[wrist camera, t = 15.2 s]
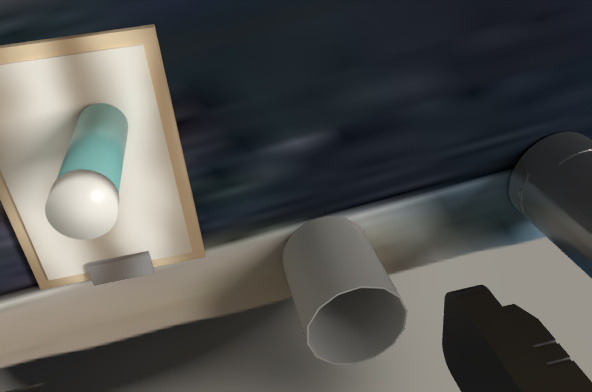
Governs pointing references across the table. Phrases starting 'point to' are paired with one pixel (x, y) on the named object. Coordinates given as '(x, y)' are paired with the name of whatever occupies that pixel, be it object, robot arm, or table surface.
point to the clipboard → (56, 138)
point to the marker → (90, 175)
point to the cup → (341, 292)
